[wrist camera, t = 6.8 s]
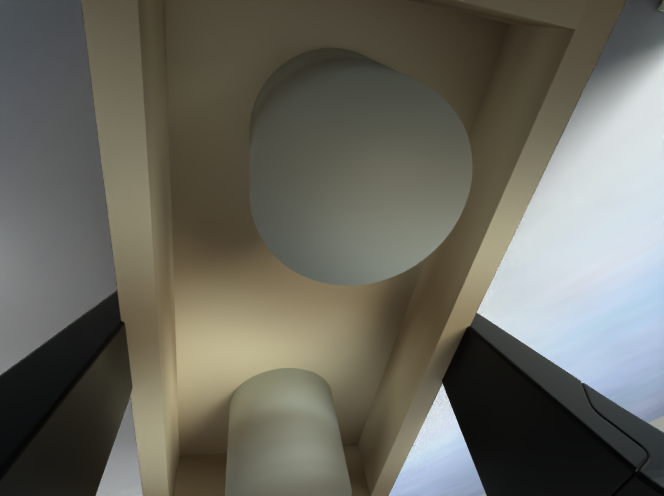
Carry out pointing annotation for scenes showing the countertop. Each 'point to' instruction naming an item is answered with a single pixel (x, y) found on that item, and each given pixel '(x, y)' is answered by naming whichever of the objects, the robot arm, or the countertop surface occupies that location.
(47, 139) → the countertop surface
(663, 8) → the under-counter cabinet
